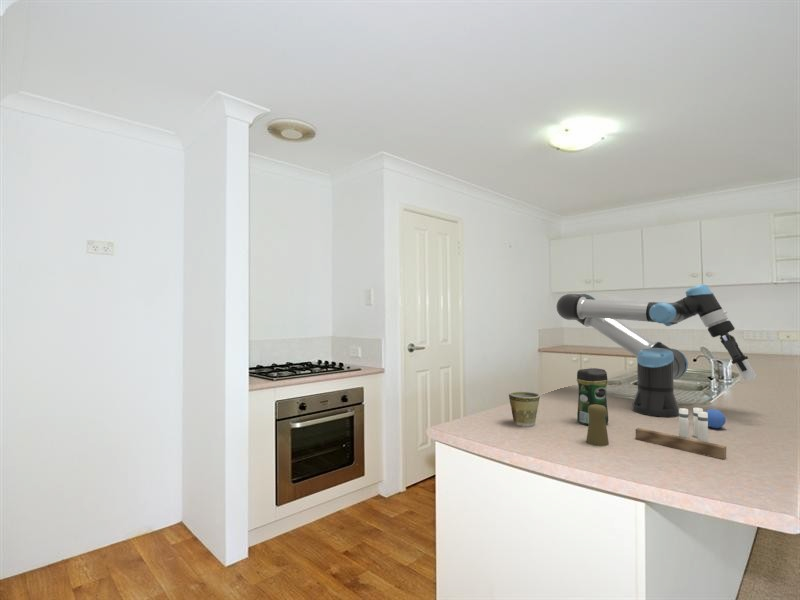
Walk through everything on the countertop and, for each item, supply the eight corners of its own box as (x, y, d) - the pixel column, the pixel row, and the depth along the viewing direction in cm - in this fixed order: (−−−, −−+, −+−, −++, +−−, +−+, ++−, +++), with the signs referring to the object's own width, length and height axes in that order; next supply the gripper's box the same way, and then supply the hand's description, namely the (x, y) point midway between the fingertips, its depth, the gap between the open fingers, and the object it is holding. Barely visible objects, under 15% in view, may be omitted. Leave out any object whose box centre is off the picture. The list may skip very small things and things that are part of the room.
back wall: (635, 438, 131) (635, 428, 131) (638, 437, 132) (638, 427, 132) (723, 459, 114) (723, 447, 114) (726, 457, 115) (726, 446, 115)
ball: (701, 428, 142) (701, 409, 142) (704, 424, 147) (704, 406, 147) (724, 431, 138) (724, 412, 138) (726, 427, 143) (726, 409, 143)
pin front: (692, 436, 133) (692, 408, 133) (693, 434, 135) (693, 407, 135) (702, 438, 131) (702, 409, 131) (703, 436, 133) (703, 408, 133)
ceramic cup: (533, 430, 140) (533, 398, 140) (504, 424, 146) (504, 395, 146) (546, 421, 150) (546, 392, 151) (519, 416, 157) (519, 388, 157)
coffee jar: (594, 418, 154) (594, 366, 154) (612, 424, 146) (612, 369, 147) (572, 421, 150) (572, 367, 151) (590, 427, 143) (589, 370, 143)
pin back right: (697, 441, 128) (697, 412, 128) (698, 439, 130) (698, 410, 130) (707, 443, 127) (707, 413, 127) (708, 441, 129) (708, 412, 129)
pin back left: (678, 437, 132) (678, 409, 132) (679, 435, 134) (679, 407, 134) (687, 439, 131) (687, 410, 131) (689, 437, 132) (689, 409, 132)
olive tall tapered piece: (611, 446, 124) (611, 407, 124) (588, 445, 125) (588, 406, 125) (605, 440, 130) (605, 403, 130) (584, 438, 131) (584, 402, 131)
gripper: (725, 318, 148) (763, 377, 141) (732, 320, 167) (765, 372, 160) (702, 327, 153) (737, 385, 145) (710, 329, 171) (742, 380, 164)
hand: (751, 378), depth 152 cm, fingers open, 13 cm apart
